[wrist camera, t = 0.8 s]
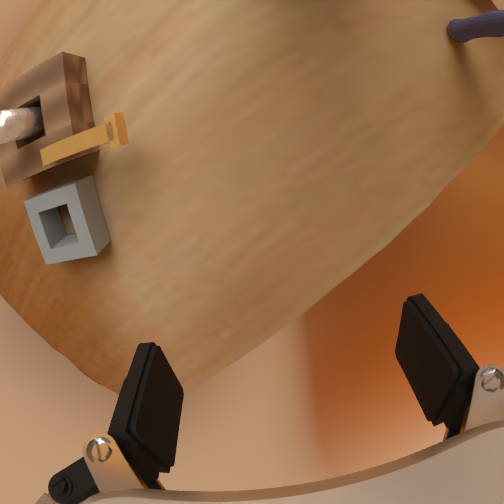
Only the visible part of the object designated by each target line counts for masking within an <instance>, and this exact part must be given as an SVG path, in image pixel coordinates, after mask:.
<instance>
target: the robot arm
mask: <svg viewBox="0 0 504 504" xmlns="http://www.w3.org/2000/svg"><path fill="white" fill-rule="evenodd" d="M395 354H396V358H397V360H398V362H399V364H400V365H401V368H402V370H403V371H404V373H405V375H406V377H407V379H408V381H409V383H410V385H411V387H412V389H413V391H414V393H415V395H416V398H417V400H418V402H419V404H420V406H421V408H422V410H423V412H424V414H425V417H426V419H427V420H428V421H432V424H433V425H434V426H436V425H438V424H440V423H443V422H444V424H445V426H446V428H447V429H446V432H445V435H444V438H443V441H442V442H440V443H438V444H436V445H433V446H431V447H428V448H426V449H423V450H421V451H418V452H416V453H413V454H411V455H408V456H405V457H403V458H400V459H398V460H394V461H392V462H389V463H386V464H383V465H379V466H376V467H373V468H370V469H367V470H363V471H359V472H355V473H352V474H348V475H344V476H339V477H336V478H331V479H326V480H322V481H316V482H311V483H305V484H299V485H293V486H285V487H278V488H270V489H258V490H245V491H220V492H203V491H172V490H166V489H165V488H164V487H163V485H162V484H161V483H160V481H159V480H158V476H159V472H163V473H169V472H170V467H172V466H173V465H174V462H175V454H176V446H177V439H178V431H179V424H180V416H181V410H182V402H183V396H184V393H183V388H182V386H181V384H180V383H179V381H178V379H177V377H176V376H175V374H174V372H173V370H172V368H171V366H170V365H169V363H168V361H167V359H166V357H165V355H164V353H163V351H162V349H161V348H160V346H156V344H155V343H154V342H151V343H140V344H139V345H138V347H137V350H136V352H135V355H134V358H133V361H132V364H131V367H130V370H129V372H128V375H127V377H126V378H125V380H124V382H123V385H122V388H121V391H120V394H119V398H118V401H117V404H116V407H115V411H114V414H113V417H112V420H111V423H110V427H109V431H108V434H104V433H101V434H96V435H93V436H92V437H90V438H89V439H88V440H87V441H86V443H85V445H84V447H83V456H84V457H82V458H81V459H79V460H77V461H76V462H74V463H73V464H71V465H69V466H68V467H66V468H65V469H63V470H61V471H60V472H58V473H56V474H55V475H54V476H53V477H52V478H51V480H50V482H49V485H48V490H49V493H48V494H46V493H44V494H43V495H42V496H41V497H40V499H39V500H38V501H37V502H36V503H35V504H504V370H503V369H502V368H501V367H499V366H497V365H493V364H488V365H484V366H483V367H481V368H479V366H478V365H477V363H476V362H475V361H474V359H473V358H472V356H471V355H470V353H469V352H468V351H467V349H466V348H465V346H464V345H463V344H462V342H461V341H460V339H459V338H458V337H457V336H456V334H455V333H454V332H453V330H452V329H451V328H450V326H449V325H448V324H447V323H446V322H445V321H444V320H443V319H442V317H441V316H440V315H439V313H438V312H437V311H436V310H435V308H434V307H433V306H432V305H431V303H430V302H429V301H428V300H427V299H426V298H425V296H424V295H423V294H417V295H414V296H410V297H408V298H407V301H406V302H404V304H403V310H402V316H401V322H400V328H399V333H398V338H397V344H396V349H395Z"/></svg>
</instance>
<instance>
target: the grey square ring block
mask: <svg viewBox="0 0 504 504" xmlns="http://www.w3.org/2000/svg"><path fill="white" fill-rule="evenodd" d="M24 203H25V207H26V210H27V213H28V216H29V219H30V222H31V225H32V228H33V231H34V234H35V237H36V240H37V242H38V245H39V248H40V250H41V253H42V255H43V258H44V260H45V263H46V265H48V264H53V263H58V262H63V261H69V260H74V259H79V258H85V257H90V256H96V255H98V254H99V253H100V252H101V251H102V250H103V248H104V247H105V246H106V245H107V244H108V243H109V242H110V241H111V238H110V235H109V232H108V229H107V226H106V222H105V219H104V216H103V212H102V209H101V205H100V202H99V198H98V195H97V191H96V187H95V183H94V179H93V175H90V176H87V177H83V178H80V179H77V180H74V181H71V182H68V183H65V184H62V185H60V186H57V187H54V188H51V189H48V190H46V191H43V192H41V193H39V194H37V195H35V196H33V197H31V198H30V199H28V200H26V201H24ZM63 204H67V206H68V210H69V213H70V216H71V219H72V222H73V225H74V229H75V231H76V233H75V234H70V235H67V234H66V231H65V228H64V225H63V222H62V219H61V216H60V213H59V209H58V206H60V205H63Z"/></svg>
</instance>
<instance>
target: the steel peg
mask: <svg viewBox="0 0 504 504" xmlns="http://www.w3.org/2000/svg"><path fill="white" fill-rule="evenodd" d="M43 134H45V128H44V122H43V116H42V109H41V107H29V108H18V109H8V110H0V144H4V143H8V142H12V141H16V140H20V139H24V138H28V137H33V136H38V135H43Z"/></svg>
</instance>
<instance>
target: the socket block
mask: <svg viewBox="0 0 504 504" xmlns="http://www.w3.org/2000/svg"><path fill="white" fill-rule="evenodd" d="M29 107H41V109H42V116H43V122H44V128H45V134H46V136H43V137H41V136H40V135H38V136H33V137H28V138H24V139H20V140H16V141H12V142H8V143H4V144H0V163H1V167H2V172H3V176H4V180H5V184H6V187H8V186H10V185H12V184H15V183H17V182H19V181H21V180H24V179H26V178H28V177H31V176H33V175H35V174H38V173H40V172H42V171H45V170H47V169H50V168H52V167H55V166H57V165H60V164H62V163H65V162H68V161H70V160H73V159H76V158H79V157H81V156H84V155H87V154H90V153H93V152H96V151H99V146H96V147H93V148H90V149H88V150H85V151H82V152H79V153H76V154H74V155H71V156H68V157H66V158H63V159H61V160H58V161H56V162H53V163H50V164H47V165H45V166H43V162H42V158H41V153H40V149H43V148H45V147H47V146H49V145H51V144H54V143H56V142H58V141H61V140H63V139H65V138H68V137H70V136H73V135H75V134H78V133H80V132H83V131H86V130H88V129H91V128H94V127H95V126H94V120H93V115H92V109H91V102H90V96H89V89H88V81H87V73H86V64H85V58H83V57H80V56H76V55H73V54H69V53H65V52H61V53H59V54H57V55H56V56H54V57H52V58H50V59H48V60H46V61H45V62H43V63H41V64H39V65H38V66H36V67H34V68H33V69H31V70H30V71H28V72H26V73H25V74H23V75H22V76H20V77H19V78H17V79H16V80H14V81H13V82H11V83H10V84H8V85H7V86H5V87H4V88H3V89H1V90H0V110H8V109H18V108H29Z"/></svg>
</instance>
